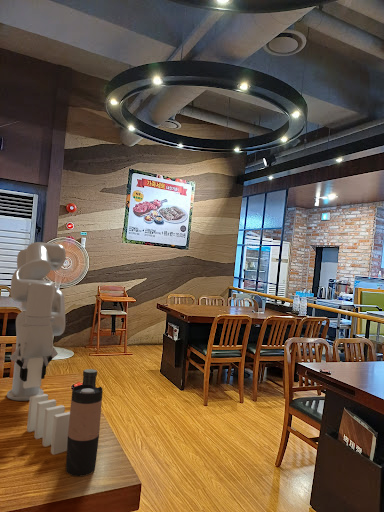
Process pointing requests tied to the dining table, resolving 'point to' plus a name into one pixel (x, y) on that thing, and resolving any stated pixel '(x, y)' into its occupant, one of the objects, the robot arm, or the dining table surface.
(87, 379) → the sauce bottle
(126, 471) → the dining table surface
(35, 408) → the domino
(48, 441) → the domino
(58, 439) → the domino
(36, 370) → the domino
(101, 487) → the dining table surface
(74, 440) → the travel mug
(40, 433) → the domino
